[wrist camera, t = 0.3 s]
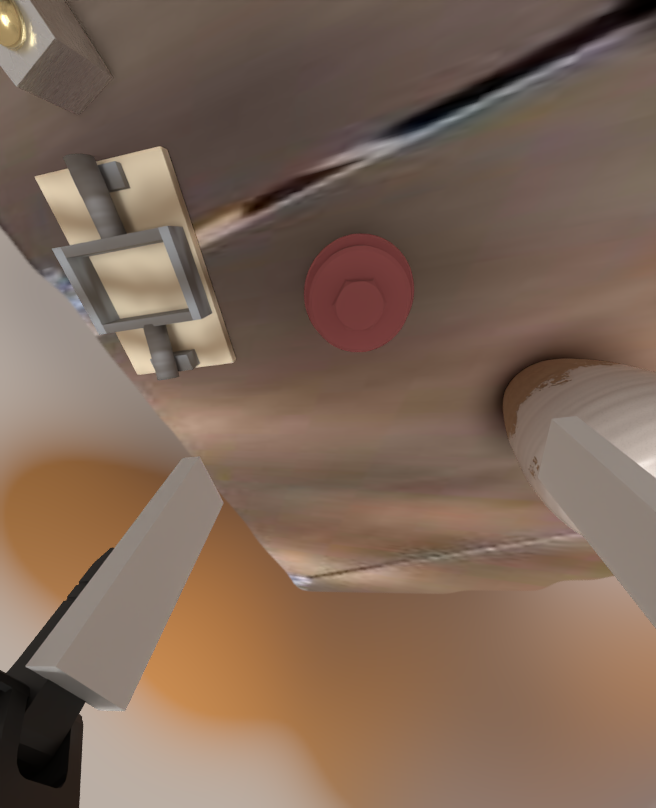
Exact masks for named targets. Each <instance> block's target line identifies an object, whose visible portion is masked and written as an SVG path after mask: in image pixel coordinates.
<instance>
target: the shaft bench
mask: <svg viewBox="0 0 656 808" xmlns="http://www.w3.org/2000/svg"><path fill="white" fill-rule="evenodd" d="M63 159H64V161H65V163H66V165H67V167H68V169H64V170H60V171H55V172H51V173H47V174H43V175H39V176H35V179H36V181H37V182H38V184H39V186H40V188H41V190H42V192H43V194H44V196H45V198H46V200H47V202H48V204H49V205H50V207H51V209H52V211H53V213H54V215H55V217H56V219H57V221H58V223H59V225H60V227H61V229H62V230H63V232H64V234H65V236H66V238H67V240H68V242H69V244H70V245H69V246H64V247H59V248H54V249H52V250H53V252H54V254H55V255H56V257H57V259H58V261H59V263H60V265H61V266H62V268H63V270H64V272H65V274H66V275H67V277H68V279H69V281H70V283H71V284H72V286H73V288H74V290H75V292H76V294H77V295H78V297H79V299H80V301H81V303H82V304H83V306H84V308H85V310H86V312H87V313H88V315H89V317H90V319H91V321H92V323H93V324H94V326H95V328H96V330H97V332H98V333H99V335H100V334H107V333H113V332H116V334H117V336H118V338H119V340H120V342H121V344H122V346H123V347H124V349H125V351H126V353H127V355H128V357H129V359H130V361H131V363H132V365H133V367H134V369H135V370H136V372H137V374H138V375H141V374H149V373H156V376H157V379H158V380H165V379H171V378H176V377H179V373H178V371H185V370H193V369H194V368H196V367H204V366H211V365H219V364H227V363H233V362H234V361H235V360H236V357H235V354H234V351H233V348H232V345H231V342H230V339H229V336H228V333H227V329H226V326H225V323H224V320H223V317H222V314H221V311H220V308H219V305H218V302H217V299H216V296H215V293H214V290H213V287H212V284H211V281H210V278H209V275H208V272H207V269H206V266H205V263H204V260H203V256H202V253H201V250H200V247H199V244H198V241H197V238H196V235H195V232H194V229H193V226H192V223H191V220H190V217H189V214H188V211H187V208H186V205H185V202H184V199H183V196H182V193H181V190H180V187H179V183H178V180H177V177H176V174H175V171H174V168H173V165H172V162H171V159H170V156H169V153H168V150H167V149H165V148H163V147H161V146H159V147H155V148H151V149H146V150H142V151H138V152H134V153H130V154H126V155H122V156H117V157H113V158H109V159H105V160H101V161H97V162H96V160H95V158H94V157H93V156H91V155H87V154H70V155H66V156H64V157H63Z"/></svg>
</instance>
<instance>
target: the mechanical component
mask: <svg viewBox="0 0 656 808" xmlns="http://www.w3.org/2000/svg"><path fill="white" fill-rule="evenodd" d="M413 297H414V281H413V276H412V272H411V269H410V266H409V264H408V262H407V260H406V259H405V257H404V255H403V254H402V253H401V252H400V250H399V249H398V248H396V247H395V246H394V245H393V244H392V243H390V242H389V241H387V240H385V239H383V238H381V237H379V236H375V235H371V234H361V233H360V234H351V235H347V236H344V237H341V238H339V239H337V240H335V241H333V242H332V243H330V244H329V245H327V246H326V247H325V248H324V249H323V250H322V251H321V252H320V253H319V254H318V255H317V257H316V258H315V260H314V261H313V263H312V264H311V266H310V268H309V271H308V273H307V277H306V280H305V287H304V301H305V307H306V311H307V314H308V316H309V319H310V321H311V323H312V324H313V326H314V327H315V329H316V330H317V331H318V332H319V333H320V335H321V336H322V337H323V338H324V339H325V340H326V341H327V342H329V343H330V344H332V345H333V346H335V347H337V348H339V349H342V350H345V351H350V352H365V351H371V350H374V349H376V348H379V347H381V346H383V345H385V344H386V343H387V342H389V341H390V340H391V339H392V338H393V337H394V336H396V335H397V333H398V332H399V331H400V329H401V328H402V326H403V325H404V323H405V321H406V319H407V316H408V314H409V312H410V309H411V306H412V302H413Z"/></svg>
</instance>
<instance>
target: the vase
mask: <svg viewBox="0 0 656 808" xmlns="http://www.w3.org/2000/svg"><path fill="white" fill-rule="evenodd" d="M503 415H504V422H505V428H506V432H507V436H508V439H509V442H510V445H511V447H512V450H513V452H514V454H515V456H516V459H517V461H518V463H519V465H520V467H521V469H522V471H523V473H524V475H525V477H526V479H527V481H528V482H529V484H530V485H531V487H532V488H533V490H534V491H535V493H536V494H537V495H538V496H539V498H540V499H541V500H542V502H543V503H544V504H545V505H546V507H547V508H548V509H549V510H550V511H551V512H552V513H553V514H554V515H555V516H557V517H558V518H559V519H560V520H561V521H562V522H563V523H565V524H566V525H567V526H568V527H570V528H571V529H572V530H574V531H575V532H576V533H578V534H580V535H581V536H583V535H582V534H581V532H580V531H579V530H578V529H577V527H576V526H575V525H574V523H573V522H572V521H571V520H570V518H569V517H568V516H567V514H566V513H565V512H564V511H563V509H562V508H561V507H560V506H559V504H558V503H557V502H556V500H555V499H554V498H553V497H552V495H551V494H550V493H549V491H548V490H547V489H546V488H545V486H544V485H543V484H542V483H541V481H540V480H539V479H538V474H539V470H540V466H541V462H542V457H543V453H544V449H545V445H546V441H547V436H548V432H549V428H550V424H551V420H552V419H553V418H562V417H571V416H577V417H579V418H580V419H581V420H582V421H584V422H585V423H586V424H587V425H589V426H590V427H591V428H593V429H594V430H595V431H596V432H598V433H599V434H600V435H601V436H603V437H604V438H605V439H607V440H608V441H609V442H610V443H612V444H613V445H614V446H615V447H617V448H618V449H619V450H621V451H622V452H623V453H624V454H626V455H627V456H628V457H629V458H631V459H632V460H633V461H635V462H636V463H637V464H638V465H640V466H641V467H642V468H643V469H645V470H646V471H647V472H649V473H650V474H651V475H652V476H654V477H655V478H656V372H654V371H650V370H646V369H641V368H637V367H633V366H629V365H624V364H619V363H614V362H608V361H600V360H589V359H552V360H546V361H541V362H538V363H535V364H533V365H531V366H529V367H527V368H525V369H524V370H522V371H521V372H520V373H518V374H517V375H516V376H515V377H514V378H513V379H512V381H511V382H510V383H509V385H508V386H507V388H506V391H505V393H504V398H503ZM583 537H584V536H583Z"/></svg>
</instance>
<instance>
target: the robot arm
mask: <svg viewBox="0 0 656 808" xmlns="http://www.w3.org/2000/svg"><path fill="white" fill-rule="evenodd" d="M538 479H539V480H540V481H541V483H542V484H543V485H544V486H545V488H546V489H547V490H548V491H549V493H550V494H551V495H552V497H553V498H554V499H555V500H556V502H557V503H558V504H559V506H560V507H561V508H562V509H563V511H564V512H565V513H566V514H567V516H568V517H569V518H570V520H571V521H572V522H573V523H574V525H575V526H576V527H577V529H578V530H579V531H580V532H581V534H582V535H583V536H584V537H585V539H586V540H587V541H588V543H589V544H590V545H591V546H592V548H593V549H594V550H595V551H596V553H597V554H598V555H599V557H600V558H601V559H602V560H603V562H604V563H605V564H606V566H607V567H608V568H609V569H610V571H611V572H612V573H613V574H614V576H615V577H616V578H617V580H618V581H619V582H620V583H621V585H622V586H623V587H624V589H625V590H626V591H627V592H628V593H629V595H630V596H631V597H632V599H633V600H634V601H635V602H636V604H637V605H638V606H639V608H640V609H641V610H642V611H643V613H644V614H645V615H646V617H647V618H648V619H649V620H650V622H651V623H652V624H653V626H654V627H655V628H656V478H655V477H654V476H652V475H651V474H650V473H649V472H647V471H646V470H645V469H643V468H642V467H641V466H640V465H638V464H637V463H636V462H635V461H633V460H632V459H631V458H629V457H628V456H627V455H626V454H624V453H623V452H622V451H621V450H619V449H618V448H617V447H615V446H614V445H613V444H612V443H610V442H609V441H608V440H607V439H605V438H604V437H603V436H601V435H600V434H599V433H598V432H596V431H595V430H594V429H593V428H591V427H590V426H589V425H587V424H586V423H585V422H584V421H582V420H581V419H580V418H579V417H577V416H571V417H562V418H553V419H552V420H551V424H550V428H549V432H548V436H547V441H546V445H545V449H544V453H543V457H542V462H541V466H540V470H539V474H538ZM222 505H223V501H222V499H221V497H220V495H219V493H218V491H217V489H216V487H215V485H214V483H213V482H212V480H211V478H210V476H209V474H208V472H207V470H206V468H205V466H204V464H203V462H202V460H201V458H200V457H190V458H183V459H182V460H181V461H180V462H179V464H178V465H177V466H176V468H175V469H174V470H173V471H172V473H171V474H170V475H169V477H168V478H167V480H166V481H165V482H164V483H163V485H162V486H161V487H160V489H159V490H158V491H157V493H156V494H155V495H154V497H153V498H152V499H151V501H150V502H149V503H148V505H147V506H146V507H145V508H144V510H143V511H142V512H141V514H140V515H139V517H138V518H137V519H136V520H135V522H134V523H133V524H132V526H131V527H130V528H129V530H128V531H127V532H126V534H125V535H124V536H123V538H122V539H121V540H120V542H119V543H118V544H117V546H116V547H115V548H110V549H109V550H108V551H107V552H106V553H105V554H104V555H102V556H101V557H100V558H99V559H98V560H97V561H96V562H95V563H94V564H93V565H92V566H91V567H90V568H89V570H88V571H87V572H86V573H85V575H84V576H83V577H82V579H81V580H80V581H79V585H76V586H75V587H74V589H73V590H72V591H71V593H70V594H69V595H68V596H67V600H66V601H63V603H62V604H61V605H60V607H59V608H58V609H57V611H56V612H55V613H54V614H53V616H52V617H51V618H50V619H49V621H48V622H47V623H46V625H45V626H44V627H43V628H42V630H41V631H40V632H39V633H38V635H37V636H36V637H35V639H34V640H33V641H32V642H31V644H30V645H29V646H28V647H27V649H26V650H25V651H24V652H23V654H22V655H21V656H20V658H19V659H18V660H17V661H16V662H15V664H14V665H13V666H12V667H11V668H10V670H9V671H8V672H7V673H5V672H3V671H1V670H0V808H79V799H80V779H81V759H82V738H83V721H82V716H81V715H80V714H79V713H80V711H81V709H82V707H83V706H84V704H85V702H86V703H88V704H89V705H91V706H93V707H94V708H96V709H98V710H108V711H125V710H126V708H127V706H128V704H129V702H130V700H131V697H132V695H133V693H134V691H135V689H136V686H137V685H138V683H139V680H140V678H141V676H142V674H143V672H144V670H145V668H146V666H147V664H148V661H149V659H150V657H151V655H152V653H153V651H154V649H155V647H156V644H157V643H158V640H159V638H160V636H161V634H162V632H163V630H164V628H165V626H166V623H167V621H168V619H169V617H170V615H171V613H172V611H173V609H174V607H175V604H176V602H177V600H178V598H179V596H180V594H181V592H182V590H183V588H184V585H185V583H186V581H187V579H188V577H189V575H190V573H191V571H192V569H193V566H194V564H195V562H196V560H197V558H198V556H199V554H200V552H201V550H202V547H203V545H204V543H205V541H206V539H207V537H208V535H209V532H210V530H211V529H212V526H213V524H214V522H215V520H216V518H217V516H218V514H219V512H220V509H221V507H222Z"/></svg>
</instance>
